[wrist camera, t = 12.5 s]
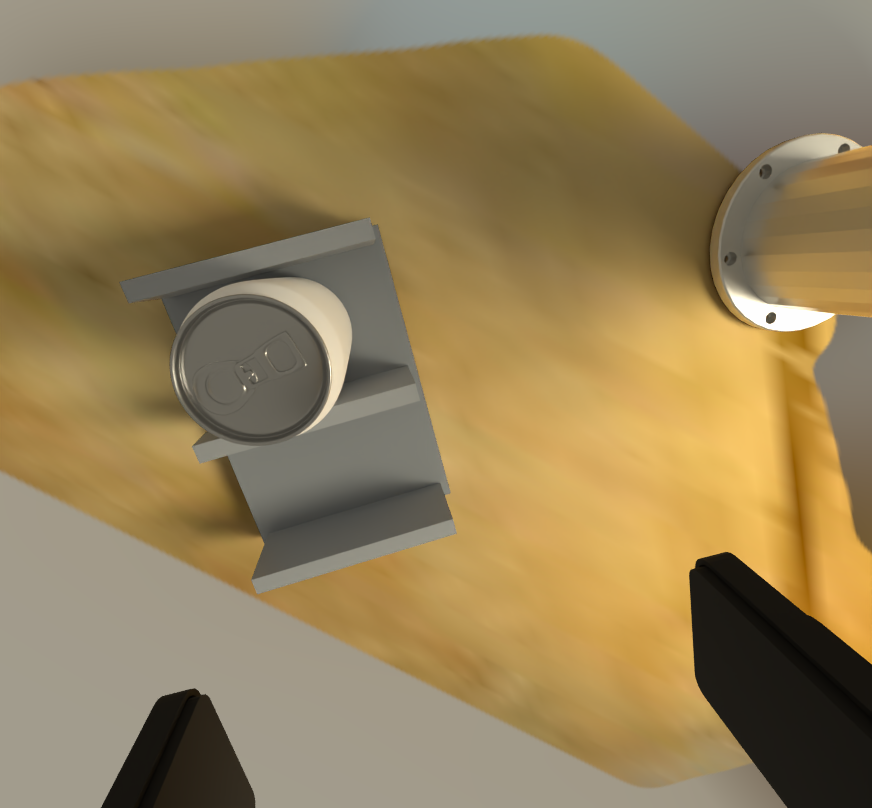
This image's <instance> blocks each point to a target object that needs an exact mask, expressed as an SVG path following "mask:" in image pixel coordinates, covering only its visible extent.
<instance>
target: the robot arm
mask: <svg viewBox="0 0 872 808" xmlns="http://www.w3.org/2000/svg"><path fill="white" fill-rule="evenodd" d="M710 267H711V272H712V276H713V281H714V285H715V287H716V289H717V291H718V294H719V296H720V298H721V300H722V301H723V302H724V304H725V305H726V307H727V308H728V309H729V311H730V312H732V313H733V314H734V315H735V316H736V317H737V318H738V319H740V320H741V321H743V322H745V323H747V324H749V325H751V326H753V327H757V328H761V329H765V330H771V331H780V332H789V331H799V330H802V329H806V328H809V327H813V326H815V325H817V324H819V323H821V322H823V321H825V320H827V319H829V318H830V317H832V316H833V315H835V314H842V315H852V316H863V317H872V145H870V146H866V147H861V146H860V145H858V144H857V143H856V142H854V141H853V140H851V139H848V138H845V137H842V136H839V135H836V134H826V133H825V134H824V133H817V134H811V135H805V136H801V137H797V138H794V139H791V140H788V141H784V142H782V143H780V144H778V145H776V146H774V147H772V148H770V149H768V150H767V151H765V152H764V153H763V154H761V155H760V156H759V157H757V158H756V159H755V160H753V161H752V162H751V163H750V164H749V165H748V166H747V167H746V169H744V170H743V171H742V173H741V174H740V175H739V176H738V177H737V179H736V180H735V181H734V183H733V184H732V186H731V187H730V189H729V190H728V192H727V193H726V195H725V198H724V200H723V202H722V204H721V206H720V208H719V210H718V213H717V216H716V220H715V223H714V226H713V229H712V237H711V244H710ZM689 579H690V597H691V614H692V632H693V649H694V667H695V677H696V680H697V683H698V686H699V688H700V690H701V692H702V693H703V695H704V696H705V698H706V699H707V701H708V702H709V703H710V705H711V706H712V707H713V709H714V710H715V711H716V713H717V714H718V715H719V717H720V718H721V719H722V721H723V722H724V723H725V725H726V726H727V727H728V729H729V730H730V731H731V733H732V734H733V735H734V737H735V738H736V739H737V741H738V742H739V744H740V745H741V746H742V748H743V749H744V750H745V752H746V753H747V754H748V756H749V757H750V758H751V760H752V761H753V762H754V764H755V765H756V766H757V768H758V769H759V770H760V772H761V773H762V774H763V775H764V777H765V778H766V780H767V781H768V782H769V784H770V785H771V786H772V788H773V789H774V790H775V792H776V793H777V794H778V796H779V797H780V798H781V800H782V801H783V802H784V804H785V805H786V806H787V808H872V664H870V663H869V662H868V661H867V660H866V659H864V658H863V657H862V656H861V655H859V654H858V653H857V652H856V651H855V650H853V649H852V648H851V647H850V646H848V645H847V644H846V643H845V642H844V641H842V640H841V639H840V638H839V637H837V636H836V635H835V634H834V633H832V632H831V631H830V630H829V629H828V628H826V627H825V626H824V625H823V624H821V623H820V622H819V621H817V620H816V619H814V618H813V617H811V616H809V615H806V614H805V613H804V612H803V611H801V610H800V609H799V608H798V607H797V606H795V605H794V604H793V603H792V602H790V601H789V600H788V599H787V598H786V597H784V596H783V595H782V594H781V593H780V592H778V591H777V590H776V589H775V588H773V587H772V586H771V585H770V584H769V583H767V582H766V581H765V580H764V579H763V578H761V577H760V576H759V575H758V574H757V573H755V572H754V571H753V570H752V569H750V568H749V567H748V566H747V565H746V564H744V563H743V562H742V561H741V560H740V559H738V558H737V557H736V556H735V555H733V554H731V553H729V552H724V553H720V554H716V555H713V556H709V557H705V558H701V559H698V560H697V561H696V565H695V569H692V570H690V573H689ZM101 808H255V797H254V793H253V790H252V788H251V786H250V784H249V782H248V779H247V778H246V776H245V773H244V771H243V769H242V767H241V764H240V762H239V760H238V758H237V756H236V754H235V751H234V749H233V747H232V745H231V743H230V741H229V739H228V736H227V734H226V732H225V730H224V728H223V726H222V723H221V721H220V719H219V717H218V715H217V713H216V711H215V709H214V706H213V704H212V702H211V700H210V698H209V697H208V696H207V695H206V694H205V695H201V694H200V693H199V691H198V690H196V689H189V690H185V691H181V692H177V693H173V694H169V695H165V696H162V697H161V698H159V699H158V700H157V702H156V703H155V705H154V706H153V708H152V710H151V713H150V714H149V716H148V718H147V720H146V722H145V724H144V726H143V728H142V730H141V731H140V734H139V735H138V737H137V739H136V741H135V743H134V745H133V747H132V749H131V751H130V753H129V755H128V757H127V759H126V760H125V762H124V764H123V766H122V768H121V770H120V772H119V774H118V776H117V778H116V780H115V782H114V784H113V786H112V788H111V789H110V792H109V793H108V795H107V797H106V799H105V801H104V803H103V805H102V807H101Z"/></svg>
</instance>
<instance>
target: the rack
mask: <svg viewBox="0 0 872 808" xmlns="http://www.w3.org/2000/svg"><path fill="white" fill-rule="evenodd" d="M282 277H299V278H305V279H309V280H312V281H315V282H317V283H319V284H321V285H323V286H324V287H326V288H327V289H329V290H330V291H331V292H332V293H334V294H335V295H336V296H337V298H338V299H339V300H340V301H341V303H342V304H343V306H344V307H345V309H346V311H347V313H348V316H349V319H350V322H351V327H352V344H351V350H350V355H349V360H348V365H347V370H346V374H345V378H344V382H343V386H342V389H341V391H340V394H339V396H338V398H337V400H336V402H335V404H334V405H333V407H332V408H331V410H330V411H329V412H328V414H327V415H326V416H325V417H324V418H323V419H322V420H321V421H320V422H319V423H318V424H316V425H315V426H314V427H312V428H311V429H309V430H308V431H306V432H304V433H302V434H300V435H298V436H295V437H293V438H291V439H289V440H286V441H283V442H280V443H277V444H272V445H265V446H247V445H241V444H236V443H232V442H229V441H226V440H223V439H221V438H219V437H217V436H215V435H213V434H211V433H210V432H208V431H207V432H206V433H205V434H204V435H203V436H202V437H201V438H200V439H199V440H198V441H197V442H196V443H195V444H194V445H193V446H192V447H193V450H194V452H195V454H196V456H197V459H198V461H199V463H203V462H207V461H210V460H214V459H217V458H221V457H224V456H228V458H229V460H230V463H231V465H232V468H233V470H234V472H235V475H236V477H237V479H238V482H239V484H240V487H241V489H242V491H243V494H244V496H245V498H246V501H247V503H248V506H249V508H250V510H251V513H252V515H253V517H254V520H255V522H256V525H257V527H258V529H259V532H260V534H261V536H262V539H263V541H264V544H265V545H264V547H263V550H262V553H261V555H260V558H259V561H258V563H257V566H256V569H255V571H254V574H253V577H252V579H251V581H252V583H253V585H254V587H255V590H256V592H257V594H260V593H263V592H266V591H270V590H273V589H276V588H280V587H283V586H286V585H289V584H293V583H296V582H299V581H302V580H306V579H309V578H312V577H316V576H319V575H322V574H325V573H329V572H332V571H335V570H339V569H342V568H345V567H348V566H352V565H355V564H358V563H362V562H365V561H368V560H371V559H375V558H378V557H381V556H385V555H388V554H391V553H394V552H398V551H401V550H404V549H408V548H411V547H414V546H417V545H421V544H424V543H427V542H430V541H434V540H437V539H440V538H444V537H447V536H450V535H453V534H457V533H456V529H455V525H454V522H453V518H452V515H451V512H450V510H449V507H448V504H447V501H446V498H445V495H446V494H450V489H449V485H448V482H447V478H446V474H445V471H444V467H443V463H442V460H441V456H440V452H439V449H438V445H437V441H436V438H435V434H434V430H433V427H432V423H431V419H430V415H429V412H428V408H427V404H426V401H425V397H424V393H423V390H422V386H421V382H420V379H419V375H418V371H417V368H416V364H415V360H414V357H413V353H412V349H411V346H410V342H409V338H408V334H407V331H406V327H405V323H404V320H403V316H402V312H401V309H400V305H399V301H398V298H397V294H396V290H395V287H394V283H393V279H392V276H391V272H390V268H389V265H388V261H387V257H386V253H385V250H384V246H383V242H382V239H381V235H380V231H379V228H378V224H377V225H373V226H372V224H371V220H370V218H366V219H362V220H358V221H354V222H350V223H346V224H342V225H339V226H335V227H331V228H327V229H323V230H319V231H315V232H311V233H308V234H304V235H300V236H296V237H292V238H288V239H284V240H280V241H277V242H273V243H269V244H265V245H261V246H257V247H253V248H249V249H246V250H242V251H238V252H234V253H230V254H226V255H222V256H218V257H215V258H211V259H207V260H203V261H199V262H195V263H191V264H187V265H184V266H180V267H176V268H172V269H168V270H164V271H160V272H156V273H153V274H149V275H145V276H141V277H137V278H133V279H129V280H125V281H122V282H120V285H121V287H122V289H123V292H124V294H125V296H126V298H127V301H128V303H135V302H142V301H149V300H156V299H162V301H163V304H164V306H165V308H166V311H167V313H168V315H169V318H170V320H171V323H172V325H173V327H174V330H175V332H176V334H177V333H178V331H179V329H180V327H181V325H182V323H183V321H184V319H185V318H186V316H187V315H188V313H189V312H190V311H191V309H192V308H193V307H194V306H195V305H196V304H197V303H198V302H199V301H200V300H202V299H203V298H204V297H206V296H207V295H209V294H210V293H212V292H214V291H215V290H217V289H220V288H222V287H224V286H227V285H230V284H234V283H238V282H243V281H250V280H258V279H269V278H282Z"/></svg>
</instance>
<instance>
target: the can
mask: <svg viewBox="0 0 872 808" xmlns="http://www.w3.org/2000/svg"><path fill="white" fill-rule="evenodd" d="M351 344H352V327H351V322H350V319H349V316H348V313H347V311H346V309H345V307H344V306H343V304H342V303H341V301H340V300H339V299H338V298H337V296H336V295H335V294H334V293H332V292H331V291H330V290H329V289H327V288H326V287H324V286H323V285H321V284H319V283H317V282H315V281H312V280H309V279H305V278H299V277H282V278H269V279H258V280H250V281H243V282H238V283H234V284H230V285H227V286H224V287H222V288H220V289H217V290H215V291H214V292H212V293H210V294H209V295H207V296H206V297H204V298H203V299H202V300H200V301H199V302H198V303H197V304H196V305H195V306H194V307H193V308H192V309H191V311H190V312H189V313H188V315H187V316H186V318H185V319H184V321H183V323H182V325H181V327H180V329H179V331H178V333H177V335H176V337H175V339H174V342H173V345H172V349H171V354H170V375H171V381H172V385H173V388H174V391H175V393H176V395H177V398H178V400H179V401H180V403H181V405H182V406H183V408H184V409H185V411H186V412H187V413H188V414H189V416H190V417H191V418H192V419H193V420H194V421H195V422H196V423H197V424H199V425H200V426H201V427H202V428H204V429H205V430H206V431H208V432H210V433H211V434H213V435H215V436H217V437H219V438H221V439H223V440H226V441H229V442H232V443H236V444H241V445H247V446H265V445H272V444H277V443H280V442H283V441H286V440H289V439H291V438H293V437H295V436H298V435H300V434H302V433H304V432H306V431H308V430H309V429H311V428H312V427H314V426H315V425H316V424H318V423H319V422H320V421H321V420H322V419H323V418H324V417H325V416H326V415H327V414H328V412H329V411H330V410H331V408H332V407H333V405H334V404H335V402H336V400H337V398H338V396H339V394H340V391H341V389H342V386H343V382H344V378H345V374H346V370H347V365H348V360H349V355H350V350H351Z"/></svg>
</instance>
